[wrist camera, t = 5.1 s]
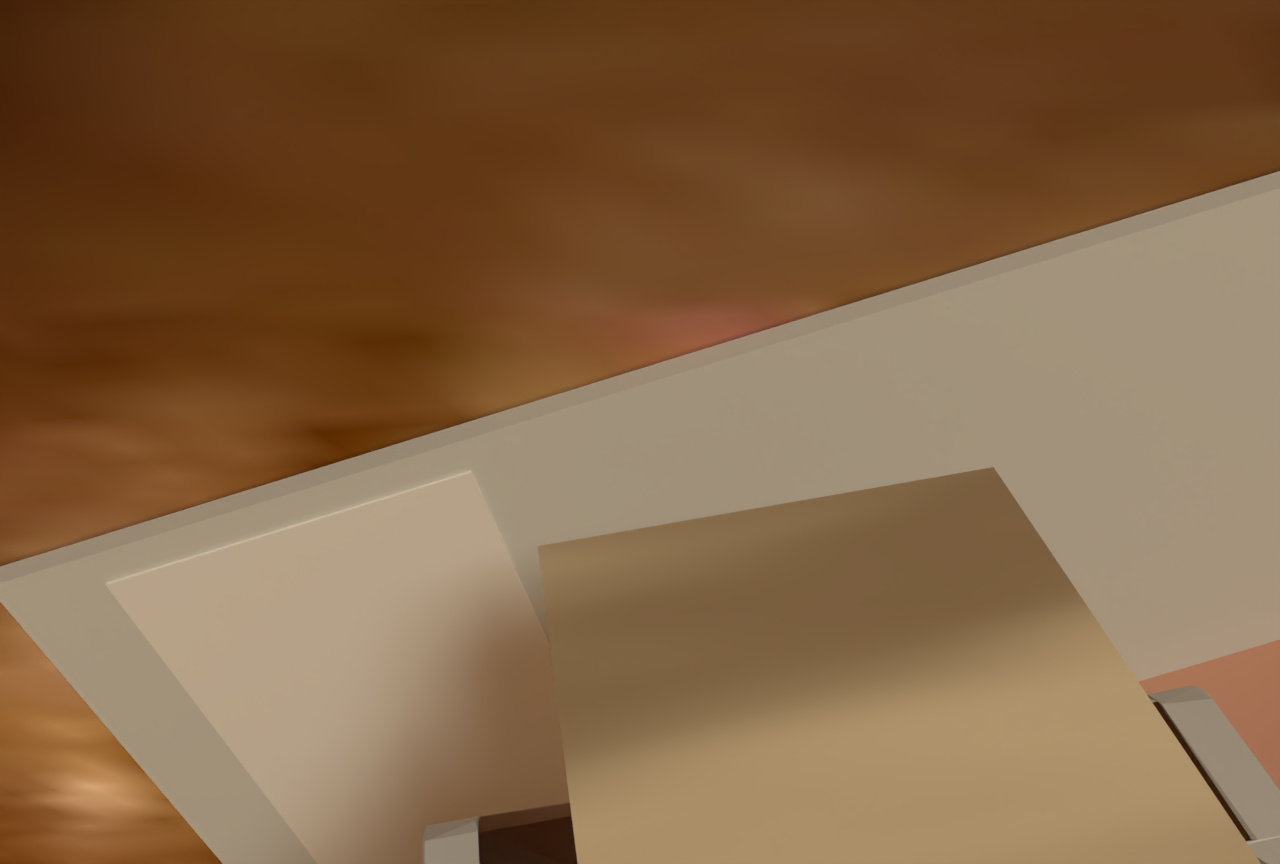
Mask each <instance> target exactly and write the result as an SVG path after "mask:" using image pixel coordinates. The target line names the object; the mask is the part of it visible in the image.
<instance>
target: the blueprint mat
mask: <svg viewBox="0 0 1280 864" xmlns="http://www.w3.org/2000/svg"><path fill="white" fill-rule="evenodd" d="M991 467H994V469H995V470H996V472H997V473H998V474H999V476H1000V477H1001V479H1002V480H1003V482H1004V483H1005V485H1006V486H1007V488H1008V489H1009V491H1010V492H1011V494H1012V495H1013V497H1014V498H1015V500H1016V501H1017V503H1018V504H1019V506H1020V507H1021V509H1022V510H1023V512H1024V513H1025V514H1026V516H1027V517H1028V519H1029V520H1030V522H1031V523H1032V525H1033V526H1034V528H1035V529H1036V531H1037V532H1038V534H1039V535H1040V537H1041V538H1042V540H1043V541H1044V543H1045V544H1046V546H1047V547H1048V549H1049V550H1050V552H1051V553H1052V555H1053V556H1054V557H1055V559H1056V560H1057V562H1058V563H1059V565H1060V566H1061V568H1062V569H1063V571H1064V572H1065V574H1066V575H1067V577H1068V578H1069V580H1070V581H1071V583H1072V584H1073V586H1074V587H1075V589H1076V590H1077V592H1078V593H1079V595H1080V596H1081V598H1082V599H1083V600H1084V602H1085V603H1086V605H1087V606H1088V608H1089V609H1090V611H1091V612H1092V614H1093V615H1094V617H1095V618H1096V620H1097V621H1098V623H1099V624H1100V626H1101V627H1102V629H1103V630H1104V632H1105V633H1106V635H1107V636H1108V638H1109V639H1110V641H1111V642H1112V643H1113V645H1114V646H1115V648H1116V649H1117V651H1118V652H1119V654H1120V655H1121V657H1122V658H1123V660H1124V661H1125V663H1126V664H1127V666H1128V667H1129V669H1130V670H1131V672H1132V673H1133V675H1134V676H1135V678H1136V679H1137V681H1138V682H1139V681H1142V680H1145V679H1149V678H1152V677H1155V676H1159V675H1162V674H1165V673H1169V672H1172V671H1175V670H1179V669H1182V668H1186V667H1189V666H1192V665H1196V664H1199V663H1202V662H1206V661H1209V660H1212V659H1216V658H1219V657H1223V656H1226V655H1229V654H1233V653H1236V652H1239V651H1243V650H1246V649H1249V648H1253V647H1256V646H1259V645H1263V644H1266V643H1270V642H1273V641H1276V640H1280V171H1278V172H1275V173H1272V174H1269V175H1265V176H1262V177H1259V178H1256V179H1253V180H1249V181H1246V182H1243V183H1240V184H1236V185H1233V186H1230V187H1227V188H1223V189H1220V190H1217V191H1214V192H1210V193H1207V194H1204V195H1201V196H1198V197H1194V198H1191V199H1188V200H1185V201H1181V202H1178V203H1175V204H1172V205H1168V206H1165V207H1162V208H1159V209H1155V210H1152V211H1149V212H1146V213H1143V214H1139V215H1136V216H1133V217H1130V218H1126V219H1123V220H1120V221H1117V222H1113V223H1110V224H1107V225H1104V226H1100V227H1097V228H1094V229H1091V230H1088V231H1084V232H1081V233H1078V234H1075V235H1071V236H1068V237H1065V238H1062V239H1058V240H1055V241H1052V242H1049V243H1045V244H1042V245H1039V246H1036V247H1033V248H1029V249H1026V250H1023V251H1020V252H1016V253H1013V254H1010V255H1007V256H1003V257H1000V258H997V259H994V260H990V261H987V262H984V263H981V264H978V265H974V266H971V267H968V268H965V269H961V270H958V271H955V272H952V273H948V274H945V275H942V276H939V277H935V278H932V279H929V280H926V281H923V282H919V283H916V284H913V285H910V286H906V287H903V288H900V289H897V290H893V291H890V292H887V293H884V294H880V295H877V296H874V297H871V298H868V299H864V300H861V301H858V302H855V303H851V304H848V305H845V306H842V307H838V308H835V309H832V310H829V311H825V312H822V313H819V314H816V315H813V316H809V317H806V318H803V319H800V320H796V321H793V322H790V323H787V324H783V325H780V326H777V327H774V328H771V329H767V330H764V331H761V332H758V333H754V334H751V335H748V336H745V337H741V338H738V339H735V340H732V341H728V342H725V343H722V344H719V345H716V346H712V347H709V348H706V349H703V350H699V351H696V352H693V353H690V354H686V355H683V356H680V357H677V358H673V359H670V360H667V361H664V362H661V363H657V364H654V365H651V366H648V367H644V368H641V369H638V370H635V371H631V372H628V373H625V374H622V375H618V376H615V377H612V378H609V379H606V380H602V381H599V382H596V383H593V384H589V385H586V386H583V387H580V388H576V389H573V390H570V391H567V392H563V393H560V394H557V395H554V396H551V397H547V398H544V399H541V400H538V401H534V402H531V403H528V404H525V405H521V406H518V407H515V408H512V409H508V410H505V411H502V412H499V413H496V414H492V415H489V416H486V417H483V418H479V419H476V420H473V421H470V422H466V423H463V424H460V425H457V426H453V427H450V428H447V429H444V430H441V431H437V432H434V433H431V434H428V435H424V436H421V437H418V438H415V439H411V440H408V441H405V442H402V443H398V444H395V445H392V446H389V447H386V448H382V449H379V450H376V451H373V452H369V453H366V454H363V455H360V456H356V457H353V458H350V459H347V460H343V461H340V462H337V463H334V464H331V465H327V466H324V467H321V468H318V469H314V470H311V471H308V472H305V473H301V474H298V475H295V476H292V477H288V478H285V479H282V480H279V481H276V482H272V483H269V484H266V485H263V486H259V487H256V488H253V489H250V490H246V491H243V492H240V493H237V494H233V495H230V496H227V497H224V498H221V499H217V500H214V501H211V502H208V503H204V504H201V505H198V506H195V507H191V508H188V509H185V510H182V511H179V512H175V513H172V514H169V515H166V516H162V517H159V518H156V519H153V520H149V521H146V522H143V523H140V524H136V525H133V526H130V527H127V528H124V529H120V530H117V531H114V532H111V533H107V534H104V535H101V536H98V537H94V538H91V539H88V540H85V541H81V542H78V543H75V544H72V545H69V546H65V547H62V548H59V549H56V550H52V551H49V552H46V553H43V554H39V555H36V556H33V557H30V558H26V559H23V560H20V561H17V562H14V563H10V564H7V565H4V566H1V567H0V602H1V603H2V604H3V605H4V607H5V608H6V609H7V610H8V611H9V613H10V614H11V615H12V616H13V617H14V618H15V620H16V621H17V622H18V623H19V624H20V625H21V627H22V628H23V629H24V630H25V631H26V633H27V634H28V635H29V636H30V637H31V638H32V640H33V641H34V642H35V643H36V644H37V646H38V647H39V648H40V649H41V650H42V651H43V653H44V654H45V655H46V656H47V657H48V658H49V660H50V661H51V662H52V663H53V664H54V666H55V667H56V668H57V669H58V670H59V671H60V673H61V674H62V675H63V676H64V677H65V679H66V680H67V681H68V682H69V683H70V684H71V686H72V687H73V688H74V689H75V690H76V691H77V693H78V694H79V695H80V696H81V697H82V699H83V700H84V701H85V702H86V703H87V704H88V706H89V707H90V708H91V709H92V710H93V712H94V713H95V714H96V715H97V716H98V717H99V719H100V720H101V721H102V722H103V723H104V724H105V726H106V727H107V728H108V729H109V730H110V732H111V733H112V734H113V735H114V736H115V737H116V739H117V740H118V741H119V742H120V743H121V745H122V746H123V747H124V748H125V749H126V750H127V752H128V753H129V754H130V755H131V756H132V757H133V759H134V760H135V761H136V762H137V763H138V765H139V766H140V767H141V768H142V769H143V770H144V772H145V773H146V774H147V775H148V776H149V778H150V779H151V780H152V781H153V782H154V783H155V785H156V786H157V787H158V788H159V789H160V790H161V792H162V793H163V794H164V795H165V796H166V798H167V799H168V800H169V801H170V802H171V803H172V805H173V806H174V807H175V808H176V809H177V811H178V812H179V813H180V814H181V815H182V816H183V818H184V819H185V820H186V821H187V822H188V823H189V825H190V826H191V827H192V828H193V829H194V831H195V832H196V833H197V834H198V835H199V836H200V838H201V839H202V840H203V841H204V842H205V844H206V845H207V846H208V847H209V848H210V849H211V851H212V852H213V853H214V854H215V855H216V856H217V858H218V859H219V860H220V861H221V862H222V864H422V842H423V837H424V832H425V827H426V826H429V825H434V824H440V823H445V822H451V821H456V820H461V819H467V818H472V817H477V816H480V817H481V816H487V815H493V814H499V813H505V812H511V811H516V810H522V809H528V808H534V807H540V806H545V805H551V804H557V803H563V802H569V801H570V800H569V792H568V784H567V776H566V768H565V760H564V752H563V744H562V736H561V728H560V720H559V712H558V704H557V696H556V688H555V680H554V672H553V665H552V657H551V649H550V641H549V633H548V625H547V617H546V609H545V601H544V593H543V585H542V577H541V569H540V561H539V553H538V546H542V545H547V544H553V543H559V542H565V541H570V540H576V539H582V538H588V537H594V536H599V535H605V534H611V533H617V532H622V531H628V530H634V529H640V528H645V527H651V526H657V525H663V524H668V523H674V522H680V521H686V520H692V519H697V518H703V517H709V516H715V515H720V514H726V513H732V512H738V511H743V510H749V509H755V508H761V507H766V506H772V505H778V504H784V503H790V502H795V501H801V500H807V499H813V498H818V497H824V496H830V495H836V494H841V493H847V492H853V491H859V490H864V489H870V488H876V487H882V486H888V485H893V484H899V483H905V482H911V481H916V480H922V479H928V478H934V477H939V476H945V475H951V474H957V473H962V472H968V471H974V470H980V469H985V468H991Z"/></svg>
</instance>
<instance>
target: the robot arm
mask: <svg viewBox="0 0 1280 864" xmlns="http://www.w3.org/2000/svg"><path fill="white" fill-rule="evenodd" d="M1147 695H1148V697H1149V698H1150V700H1151V701H1152V703H1153V704H1154V706H1155V707H1156V709H1157V710H1158V712H1159V713H1160V715H1161V716H1162V718H1163V719H1164V721H1165V722H1166V724H1167V725H1168V726H1169V728H1170V729H1171V731H1172V732H1173V734H1174V735H1175V737H1176V738H1177V740H1178V741H1179V743H1180V744H1181V746H1182V747H1183V749H1184V750H1185V752H1186V753H1187V755H1188V756H1189V758H1190V759H1191V761H1192V762H1193V764H1194V765H1195V767H1196V768H1197V769H1198V771H1199V772H1200V774H1201V775H1202V777H1203V778H1204V780H1205V781H1206V783H1207V784H1208V786H1209V787H1210V789H1211V790H1212V792H1213V793H1214V795H1215V796H1216V798H1217V799H1218V801H1219V802H1220V804H1221V805H1222V807H1223V808H1224V810H1225V811H1226V812H1227V814H1228V815H1229V817H1230V818H1231V820H1232V821H1233V823H1234V824H1235V826H1236V827H1237V829H1238V830H1239V832H1240V833H1241V835H1242V836H1243V838H1244V839H1245V841H1246V842H1247V844H1248V845H1249V847H1250V848H1251V850H1252V851H1253V853H1254V854H1255V855H1256V857H1257V858H1258V860H1259V861H1260V863H1261V864H1280V789H1279V788H1278V786H1277V785H1276V784H1275V782H1274V781H1273V780H1272V778H1271V777H1270V776H1269V774H1268V773H1267V772H1266V770H1265V769H1264V768H1263V766H1262V765H1261V763H1260V762H1259V761H1258V759H1257V758H1256V757H1255V755H1254V754H1253V753H1252V751H1251V750H1250V749H1249V747H1248V746H1247V745H1246V743H1245V742H1244V741H1243V739H1242V738H1241V737H1240V735H1239V734H1238V732H1237V731H1236V730H1235V728H1234V727H1233V726H1232V724H1231V723H1230V722H1229V720H1228V719H1227V718H1226V716H1225V715H1224V714H1223V712H1222V711H1221V710H1220V708H1219V707H1218V705H1217V704H1216V703H1215V701H1214V700H1213V699H1212V697H1211V696H1210V695H1209V694H1208V693H1207V692H1205V691H1204V690H1202V689H1201V688H1199V687H1198V686H1184V687H1179V688H1174V689H1170V690H1165V691H1160V692H1155V693H1150V694H1147ZM422 864H578V863H577V855H576V847H575V839H574V831H573V823H572V815H571V808H570V801H569V802H563V803H557V804H551V805H545V806H540V807H534V808H528V809H522V810H516V811H511V812H505V813H499V814H493V815H487V816H481V817H480V816H477V817H472V818H467V819H461V820H456V821H451V822H445V823H440V824H434V825H429V826H426V827H425V832H424V837H423V842H422Z"/></svg>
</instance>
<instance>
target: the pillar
mask: <svg viewBox="0 0 1280 864" xmlns="http://www.w3.org/2000/svg"><path fill="white" fill-rule="evenodd" d="M538 553H539V561H540V569H541V577H542V585H543V593H544V601H545V609H546V617H547V625H548V633H549V641H550V649H551V657H552V665H553V672H554V680H555V688H556V696H557V704H558V712H559V720H560V728H561V736H562V744H563V752H564V760H565V768H566V776H567V784H568V792H569V800H570V808H571V815H572V823H573V831H574V839H575V847H576V855H577V863H578V864H1261V863H1260V861H1259V860H1258V858H1257V857H1256V855H1255V854H1254V853H1253V851H1252V850H1251V848H1250V847H1249V845H1248V844H1247V842H1246V841H1245V839H1244V838H1243V836H1242V835H1241V833H1240V832H1239V830H1238V829H1237V827H1236V826H1235V824H1234V823H1233V821H1232V820H1231V818H1230V817H1229V815H1228V814H1227V812H1226V811H1225V810H1224V808H1223V807H1222V805H1221V804H1220V802H1219V801H1218V799H1217V798H1216V796H1215V795H1214V793H1213V792H1212V790H1211V789H1210V787H1209V786H1208V784H1207V783H1206V781H1205V780H1204V778H1203V777H1202V775H1201V774H1200V772H1199V771H1198V769H1197V768H1196V767H1195V765H1194V764H1193V762H1192V761H1191V759H1190V758H1189V756H1188V755H1187V753H1186V752H1185V750H1184V749H1183V747H1182V746H1181V744H1180V743H1179V741H1178V740H1177V738H1176V737H1175V735H1174V734H1173V732H1172V731H1171V729H1170V728H1169V726H1168V725H1167V724H1166V722H1165V721H1164V719H1163V718H1162V716H1161V715H1160V713H1159V712H1158V710H1157V709H1156V707H1155V706H1154V704H1153V703H1152V701H1151V700H1150V698H1149V697H1148V695H1147V694H1146V692H1145V691H1144V689H1143V688H1142V686H1141V685H1140V684H1139V682H1138V681H1137V679H1136V678H1135V676H1134V675H1133V673H1132V672H1131V670H1130V669H1129V667H1128V666H1127V664H1126V663H1125V661H1124V660H1123V658H1122V657H1121V655H1120V654H1119V652H1118V651H1117V649H1116V648H1115V646H1114V645H1113V643H1112V642H1111V641H1110V639H1109V638H1108V636H1107V635H1106V633H1105V632H1104V630H1103V629H1102V627H1101V626H1100V624H1099V623H1098V621H1097V620H1096V618H1095V617H1094V615H1093V614H1092V612H1091V611H1090V609H1089V608H1088V606H1087V605H1086V603H1085V602H1084V600H1083V599H1082V598H1081V596H1080V595H1079V593H1078V592H1077V590H1076V589H1075V587H1074V586H1073V584H1072V583H1071V581H1070V580H1069V578H1068V577H1067V575H1066V574H1065V572H1064V571H1063V569H1062V568H1061V566H1060V565H1059V563H1058V562H1057V560H1056V559H1055V557H1054V556H1053V555H1052V553H1051V552H1050V550H1049V549H1048V547H1047V546H1046V544H1045V543H1044V541H1043V540H1042V538H1041V537H1040V535H1039V534H1038V532H1037V531H1036V529H1035V528H1034V526H1033V525H1032V523H1031V522H1030V520H1029V519H1028V517H1027V516H1026V514H1025V513H1024V512H1023V510H1022V509H1021V507H1020V506H1019V504H1018V503H1017V501H1016V500H1015V498H1014V497H1013V495H1012V494H1011V492H1010V491H1009V489H1008V488H1007V486H1006V485H1005V483H1004V482H1003V480H1002V479H1001V477H1000V476H999V474H998V473H997V472H996V470H995V469H994V467H991V468H985V469H980V470H974V471H968V472H962V473H957V474H951V475H945V476H939V477H934V478H928V479H922V480H916V481H911V482H905V483H899V484H893V485H888V486H882V487H876V488H870V489H864V490H859V491H853V492H847V493H841V494H836V495H830V496H824V497H818V498H813V499H807V500H801V501H795V502H790V503H784V504H778V505H772V506H766V507H761V508H755V509H749V510H743V511H738V512H732V513H726V514H720V515H715V516H709V517H703V518H697V519H692V520H686V521H680V522H674V523H668V524H663V525H657V526H651V527H645V528H640V529H634V530H628V531H622V532H617V533H611V534H605V535H599V536H594V537H588V538H582V539H576V540H570V541H565V542H559V543H553V544H547V545H542V546H538Z"/></svg>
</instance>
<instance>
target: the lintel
mask: <svg viewBox="0 0 1280 864" xmlns="http://www.w3.org/2000/svg"><path fill="white" fill-rule="evenodd" d="M1139 684H1140V685H1141V686H1142V688H1143V689H1144V691H1145V692H1146V694H1150V693H1155V692H1160V691H1165V690H1170V689H1174V688H1179V687H1184V686H1198V687H1199V688H1201V689H1202V690H1204V691H1205V692H1207V693H1208V694H1209V695H1210V696H1211V697H1212V699H1213V700H1214V701H1215V703H1216V704H1217V705H1218V707H1219V708H1220V710H1221V711H1222V712H1223V714H1224V715H1225V716H1226V718H1227V719H1228V720H1229V722H1230V723H1231V724H1232V726H1233V727H1234V728H1235V730H1236V731H1237V732H1238V734H1239V735H1240V737H1241V738H1242V739H1243V741H1244V742H1245V743H1246V745H1247V746H1248V747H1249V749H1250V750H1251V751H1252V753H1253V754H1254V755H1255V757H1256V758H1257V759H1258V761H1259V762H1260V763H1261V765H1262V766H1263V768H1264V769H1265V770H1266V772H1267V773H1268V774H1269V776H1270V777H1271V778H1272V780H1273V781H1274V782H1275V784H1276V785H1277V786H1278V788H1279V789H1280V640H1276V641H1273V642H1270V643H1266V644H1263V645H1259V646H1256V647H1253V648H1249V649H1246V650H1243V651H1239V652H1236V653H1233V654H1229V655H1226V656H1223V657H1219V658H1216V659H1212V660H1209V661H1206V662H1202V663H1199V664H1196V665H1192V666H1189V667H1186V668H1182V669H1179V670H1175V671H1172V672H1169V673H1165V674H1162V675H1159V676H1155V677H1152V678H1149V679H1145V680H1142V681H1139Z"/></svg>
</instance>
